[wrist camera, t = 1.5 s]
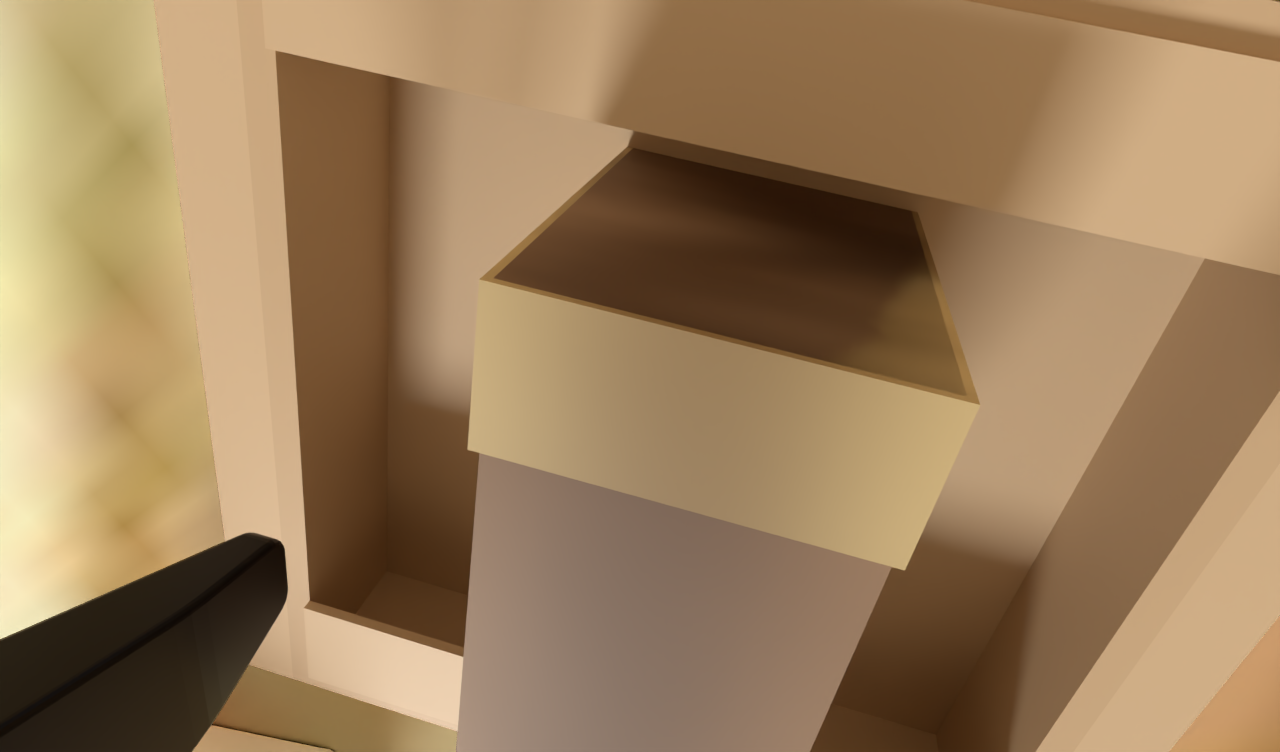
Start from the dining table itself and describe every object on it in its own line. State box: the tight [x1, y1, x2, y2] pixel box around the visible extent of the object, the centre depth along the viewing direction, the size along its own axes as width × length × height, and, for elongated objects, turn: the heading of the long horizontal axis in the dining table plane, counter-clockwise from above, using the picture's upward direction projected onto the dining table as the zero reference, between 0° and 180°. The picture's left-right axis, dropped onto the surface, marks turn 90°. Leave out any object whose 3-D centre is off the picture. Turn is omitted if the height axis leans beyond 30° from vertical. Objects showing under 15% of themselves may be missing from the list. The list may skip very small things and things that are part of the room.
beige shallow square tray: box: [154, 0, 1280, 752], centre depth 13 cm, size 16×15×4 cm
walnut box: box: [456, 147, 980, 752], centre depth 12 cm, size 5×8×6 cm, turn 171°
